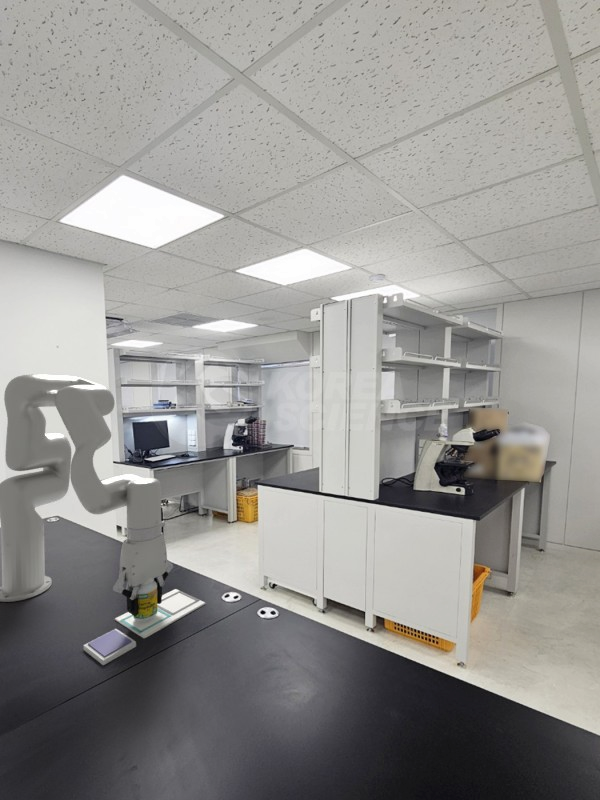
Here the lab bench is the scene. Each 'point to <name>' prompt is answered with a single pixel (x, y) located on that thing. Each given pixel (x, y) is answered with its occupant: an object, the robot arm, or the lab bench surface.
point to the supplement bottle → (147, 600)
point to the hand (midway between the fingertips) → (145, 606)
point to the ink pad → (109, 646)
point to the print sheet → (162, 613)
